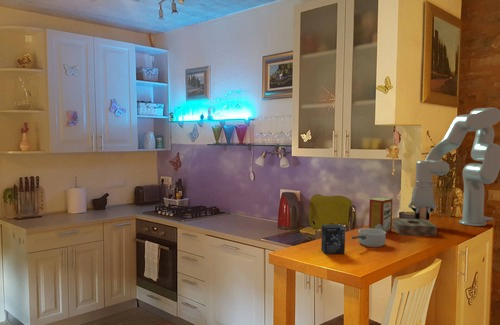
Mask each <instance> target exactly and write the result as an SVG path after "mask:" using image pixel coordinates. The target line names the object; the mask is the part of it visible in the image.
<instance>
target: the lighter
mask: <svg viewBox="0 0 500 325" xmlns="http://www.w3.org/2000/svg"><path fill="white" fill-rule="evenodd" d="M390 223H391V221H390V220H387V221H386V223H385V225H384V227H382V225H380V224H378V225H377V226H375V229H378V230H383V231H385V229H388V227H389V225H390Z"/></svg>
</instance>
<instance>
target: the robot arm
mask: <svg viewBox="0 0 500 325" xmlns="http://www.w3.org/2000/svg"><path fill="white" fill-rule="evenodd" d="M499 122H500V109H499V108H497V107H478V108H474V109H472V110H470V112H469V113H468V114H467V113H465V114H459V115H457V116H455V117H454V119H453V120H452V121H451V124H450V125H449V127H448V129H447V131H446V133H445V134H444V137H443V138H442V139H441V141H439V142H438V143H437V144H436V145H435V146H434V147H433V148H432V149H431V150H430V151H429V152H428V154H427V156H426V158H425V160H417V161H416V162H415V183H414V185H415V186H413V188H412V192H411V193H412V194H411V200H410V202H409V204H408V205H407V206H408V208H410V209H411V210H412V211H413V212H414V219H419V213H418V211H419V207H426V208H427V214H426V220H428V221H429V220H430V217H431V216H430V214H431V212H433V211H434V210H436V209H437V208H438V206H437V205H436V203H435V198H434V197H435V195H434V188H433V186H435V183H434V182H432V180H433V179H432V177H433V175H434V176H435V175H436V176H444V175H447V174H448V173H449V172H450V170H451V169H450V168H451V167H450V165H449V163H448V162H446V161H444V160H441V159H442V158H443V157H444V156H445V155H447V154H448V153H450V152H452V151H455V150H456V149H458V148H459V147H460V146H461V145H462V142H463V140H464V139H465V137H466V135H467V134H468V132H475V136H474V140H473V144H472V147H471V151H470V158H472V160H474V161H475V162H474V163H473V162H472V163H468V164H466V165H465V166H464V167H463V169H462V180H463V200H462V201H463V202H462V218H461V219H459V220H458V223H459V224H461V225H465V226H470V227H472V226H473V227H484V226H487V222H488V221H489V222H493V221H494V218H493V216H492V217H488V216H486V215H484V212H485V211H484V209H485V208H484V207H485V186H484V184H487V185H488V184H489V185H490V184H493V183H494V182H495V181H496V180H497V179H498V176H499V172H500V145H499V144H498V143H494V139H495V129H494V127H493V126H494V125H496V124H498V123H499ZM476 162H481V163H476Z"/></svg>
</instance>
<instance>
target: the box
mask: <svg viewBox="0 0 500 325" xmlns="http://www.w3.org/2000/svg"><path fill="white" fill-rule="evenodd" d="M345 248H346V227H345V226H344V225H342V224H341V223H339V224H322V225H321V248H320V250H321V252H322V253H324V254H325V255H337V254H339V255H341V254H342V255H344V254H345V252H346V251H345Z"/></svg>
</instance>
